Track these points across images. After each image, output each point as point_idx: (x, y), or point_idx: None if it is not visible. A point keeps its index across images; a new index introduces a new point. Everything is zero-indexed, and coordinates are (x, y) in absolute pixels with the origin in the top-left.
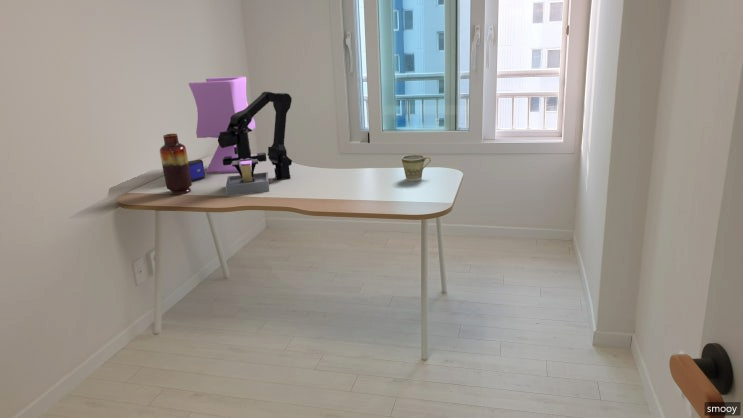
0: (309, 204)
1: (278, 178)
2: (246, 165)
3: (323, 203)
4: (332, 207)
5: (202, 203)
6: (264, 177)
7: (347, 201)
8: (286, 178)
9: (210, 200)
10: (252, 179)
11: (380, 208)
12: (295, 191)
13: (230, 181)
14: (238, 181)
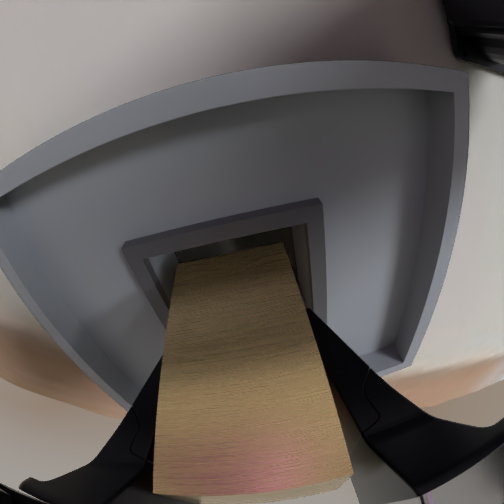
0: (439, 392)
1: (467, 52)
2: (285, 498)
3: (462, 381)
4: (460, 391)
5: (97, 404)
6: (412, 151)
7: (494, 363)
8: (501, 72)
9: (102, 391)
10: (286, 255)
11: (498, 375)
12: (468, 316)
13: (38, 251)
14: (118, 263)
